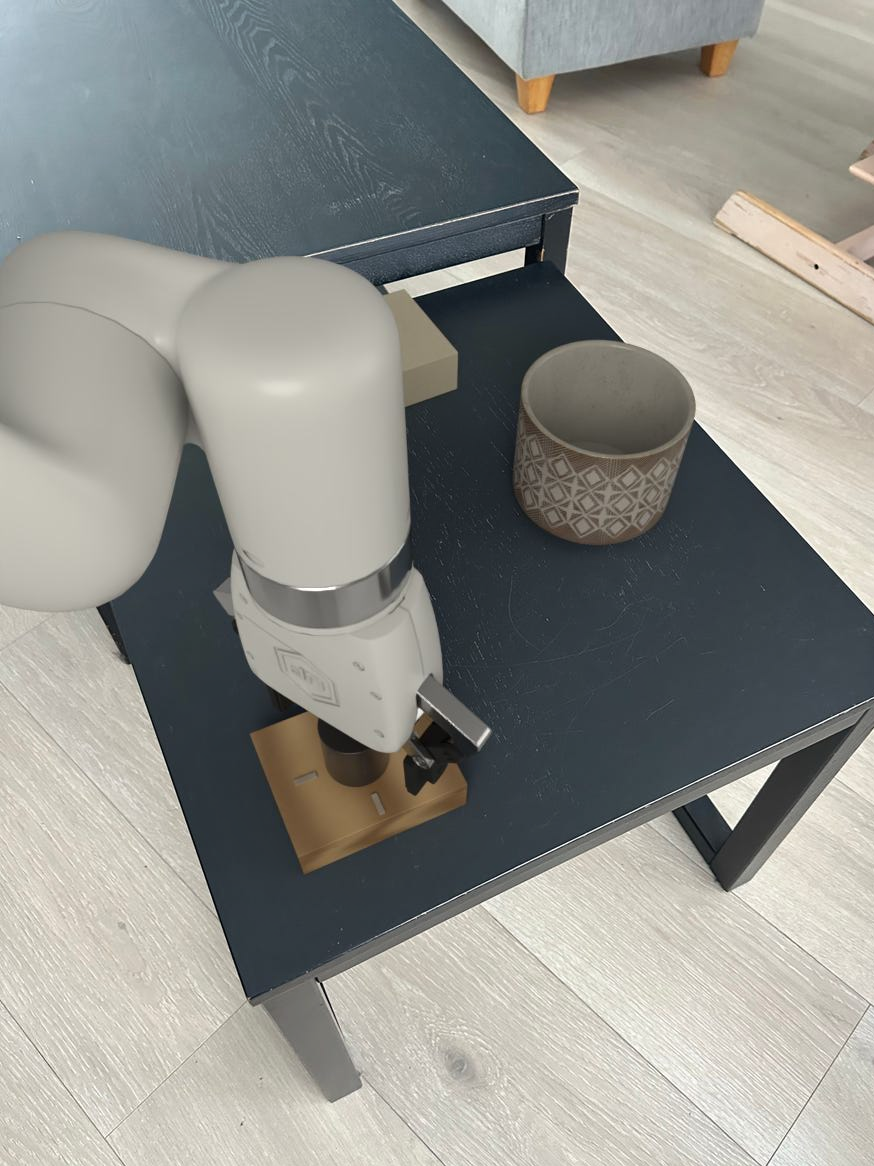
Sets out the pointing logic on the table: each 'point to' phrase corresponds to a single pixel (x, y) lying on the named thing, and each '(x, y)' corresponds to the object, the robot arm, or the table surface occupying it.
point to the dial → (350, 757)
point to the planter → (600, 440)
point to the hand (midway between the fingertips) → (359, 732)
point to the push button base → (422, 351)
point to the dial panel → (343, 794)
